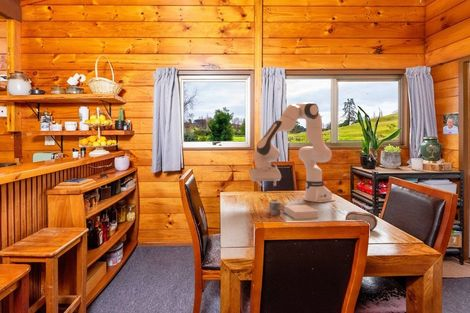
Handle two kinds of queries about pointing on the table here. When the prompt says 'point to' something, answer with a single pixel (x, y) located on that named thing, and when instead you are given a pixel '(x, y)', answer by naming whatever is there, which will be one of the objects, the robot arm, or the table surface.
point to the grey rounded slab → (363, 218)
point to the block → (275, 208)
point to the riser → (301, 211)
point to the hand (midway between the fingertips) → (268, 185)
